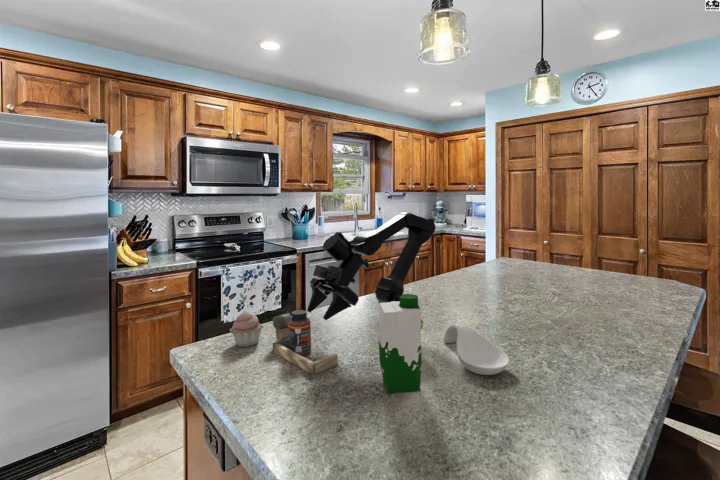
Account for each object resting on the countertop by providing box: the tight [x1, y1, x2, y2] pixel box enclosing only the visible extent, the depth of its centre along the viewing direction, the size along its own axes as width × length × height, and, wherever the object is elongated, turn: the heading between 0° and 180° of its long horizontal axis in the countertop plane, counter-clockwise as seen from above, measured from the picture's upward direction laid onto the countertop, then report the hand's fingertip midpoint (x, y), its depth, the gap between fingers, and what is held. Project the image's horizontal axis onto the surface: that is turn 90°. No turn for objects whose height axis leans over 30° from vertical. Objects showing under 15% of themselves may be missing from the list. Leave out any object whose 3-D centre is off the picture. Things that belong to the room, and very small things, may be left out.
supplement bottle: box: [288, 309, 312, 356], centre depth 101 cm, size 6×6×11 cm
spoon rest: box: [443, 323, 511, 376], centre depth 94 cm, size 24×12×7 cm, turn 12°
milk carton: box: [378, 293, 422, 394], centre depth 81 cm, size 9×9×20 cm
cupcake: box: [229, 309, 264, 348], centre depth 108 cm, size 9×9×10 cm
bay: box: [272, 338, 339, 375], centre depth 97 cm, size 19×8×2 cm, turn 42°
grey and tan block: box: [272, 311, 292, 342], centre depth 107 cm, size 4×5×9 cm
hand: (316, 315), depth 104 cm, fingers open, 9 cm apart
